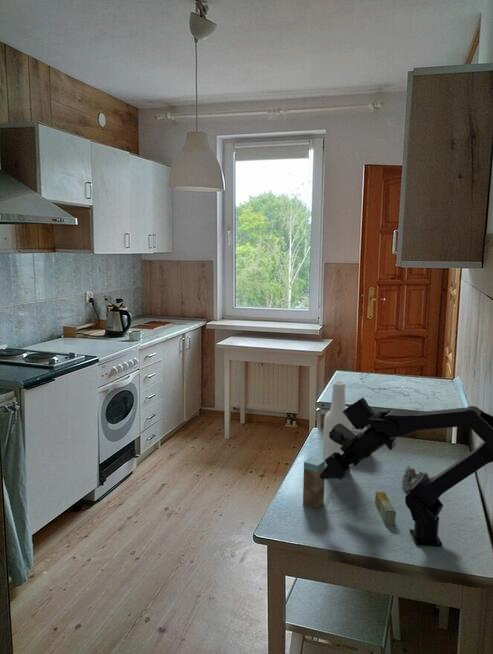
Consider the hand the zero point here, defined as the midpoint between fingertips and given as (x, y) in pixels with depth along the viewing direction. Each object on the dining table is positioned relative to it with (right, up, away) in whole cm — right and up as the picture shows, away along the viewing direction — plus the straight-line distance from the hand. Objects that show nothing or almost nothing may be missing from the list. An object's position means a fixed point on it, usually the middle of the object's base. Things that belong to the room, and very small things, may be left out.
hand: (327, 471), depth 142 cm
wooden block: (-4, -10, +4) cm, 12 cm away
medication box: (+16, -12, -1) cm, 20 cm away
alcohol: (+7, -7, +25) cm, 27 cm away
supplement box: (+16, -5, +42) cm, 46 cm away
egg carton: (+30, -9, +16) cm, 35 cm away
